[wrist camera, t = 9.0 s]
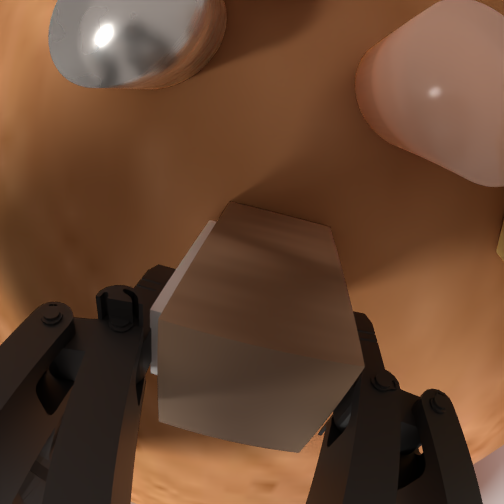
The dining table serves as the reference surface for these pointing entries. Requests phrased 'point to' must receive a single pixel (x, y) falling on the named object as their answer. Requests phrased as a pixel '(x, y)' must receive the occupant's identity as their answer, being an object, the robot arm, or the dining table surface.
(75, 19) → the chrome metal ball
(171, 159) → the dining table surface
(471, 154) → the brown egg
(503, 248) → the cheese
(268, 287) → the walnut post
